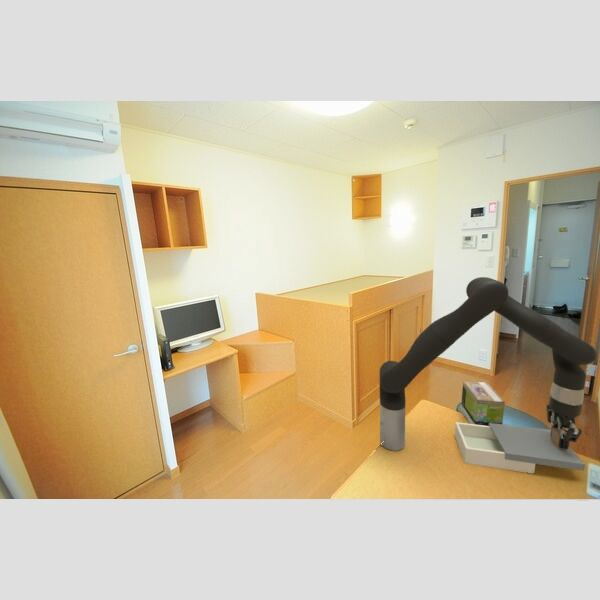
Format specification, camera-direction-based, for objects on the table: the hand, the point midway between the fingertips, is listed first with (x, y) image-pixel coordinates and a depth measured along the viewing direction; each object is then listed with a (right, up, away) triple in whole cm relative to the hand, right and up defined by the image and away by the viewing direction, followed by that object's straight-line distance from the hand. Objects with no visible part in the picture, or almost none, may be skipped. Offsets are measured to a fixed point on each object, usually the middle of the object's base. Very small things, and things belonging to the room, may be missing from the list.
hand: (558, 442), depth 89 cm
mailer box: (-18, -8, +7) cm, 21 cm away
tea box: (-11, -4, +24) cm, 26 cm away
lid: (-7, -3, +3) cm, 8 cm away
